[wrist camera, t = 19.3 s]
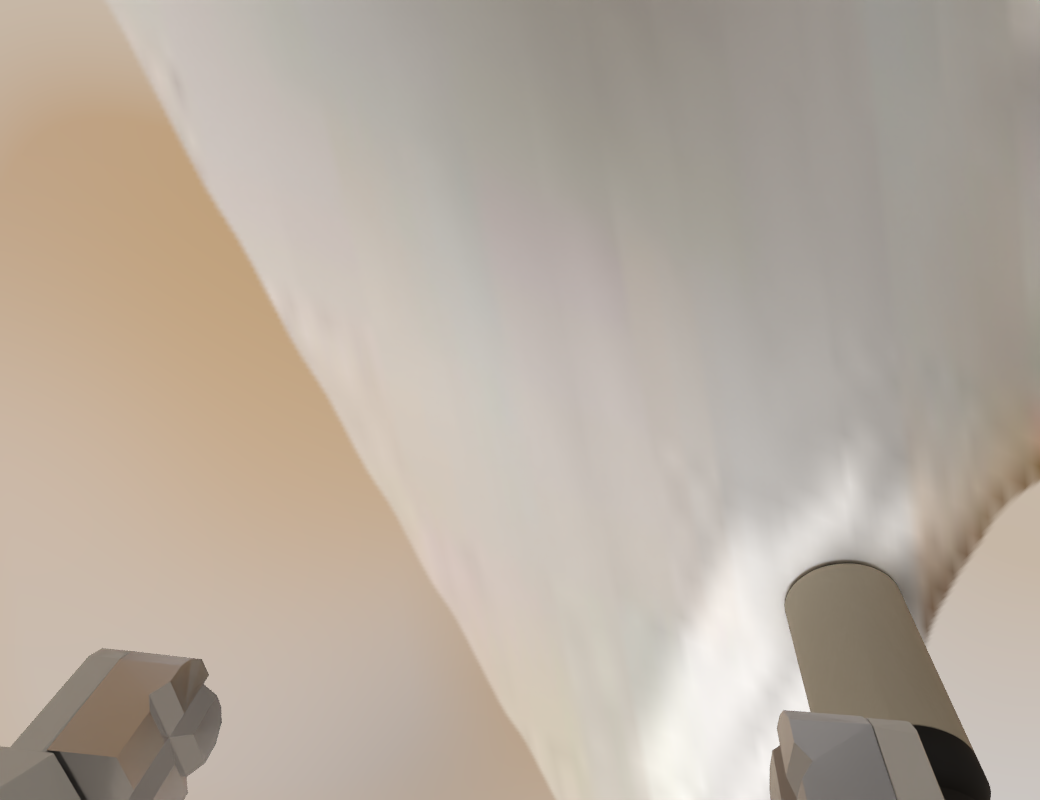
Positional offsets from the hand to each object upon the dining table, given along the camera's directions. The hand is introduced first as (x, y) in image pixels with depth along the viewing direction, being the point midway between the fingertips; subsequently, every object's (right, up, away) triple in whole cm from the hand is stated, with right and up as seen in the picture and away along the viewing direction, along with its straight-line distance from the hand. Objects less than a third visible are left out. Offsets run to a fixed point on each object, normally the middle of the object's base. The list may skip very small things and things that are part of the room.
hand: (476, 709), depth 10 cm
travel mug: (+24, -10, +41) cm, 49 cm away
